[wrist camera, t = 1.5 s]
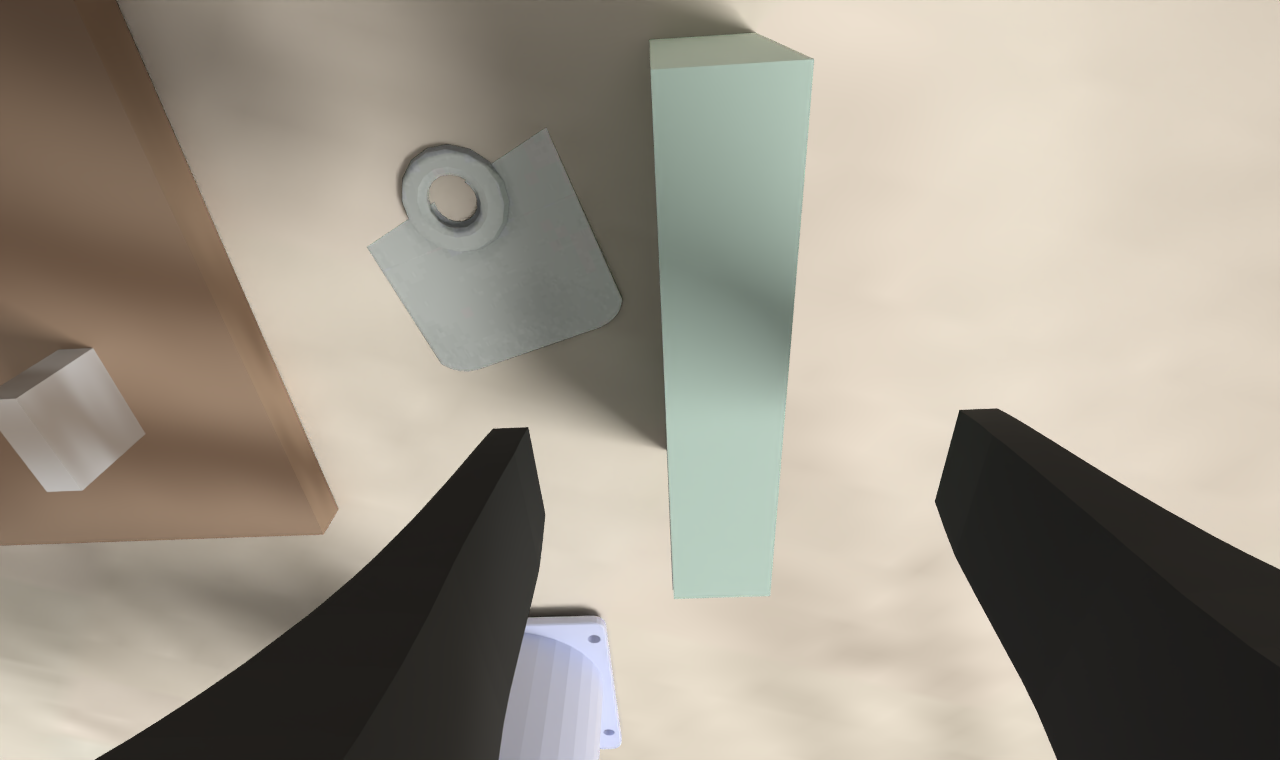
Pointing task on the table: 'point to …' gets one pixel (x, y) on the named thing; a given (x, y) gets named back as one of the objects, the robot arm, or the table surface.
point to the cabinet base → (125, 314)
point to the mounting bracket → (497, 257)
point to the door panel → (727, 293)
